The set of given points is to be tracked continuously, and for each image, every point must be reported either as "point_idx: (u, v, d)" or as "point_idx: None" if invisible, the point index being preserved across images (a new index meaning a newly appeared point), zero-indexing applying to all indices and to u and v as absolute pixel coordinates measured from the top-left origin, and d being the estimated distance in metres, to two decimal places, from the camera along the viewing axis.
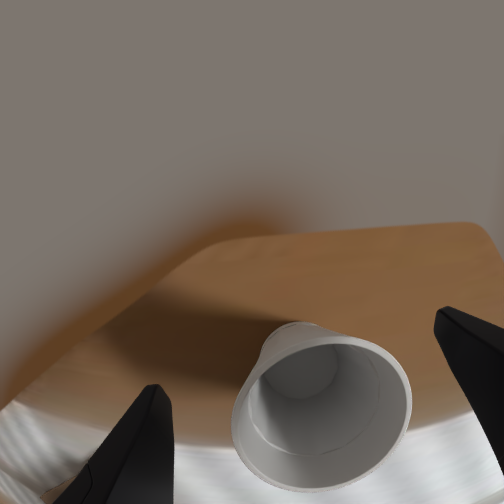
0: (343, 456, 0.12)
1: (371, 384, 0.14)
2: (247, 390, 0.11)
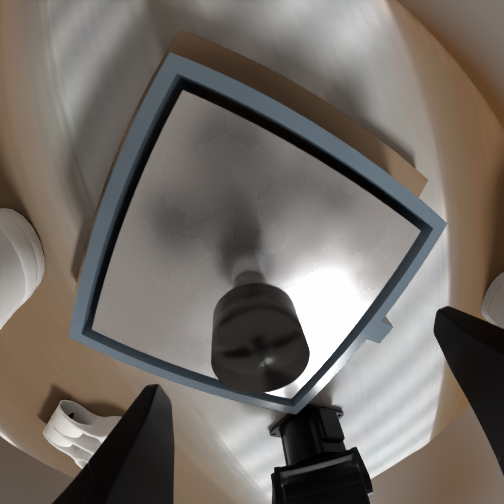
0: None
1: None
2: None
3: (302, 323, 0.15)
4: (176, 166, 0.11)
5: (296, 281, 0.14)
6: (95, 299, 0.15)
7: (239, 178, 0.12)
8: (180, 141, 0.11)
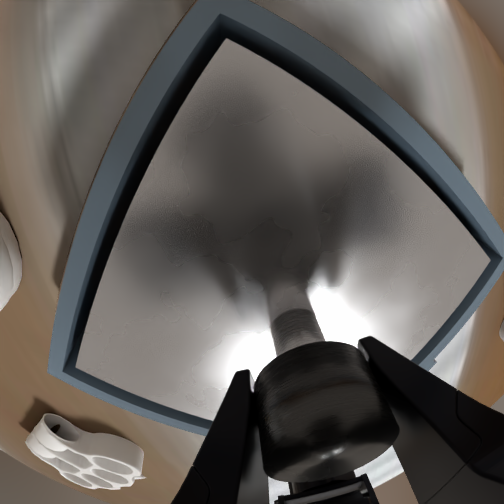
0: None
1: None
2: None
3: None
4: (207, 153, 0.07)
5: (353, 321, 0.10)
6: (79, 326, 0.11)
7: (300, 179, 0.08)
8: (215, 115, 0.07)
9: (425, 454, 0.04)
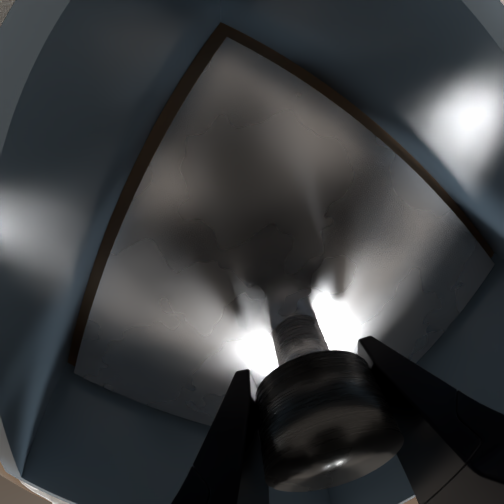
0: None
1: None
2: None
3: None
4: (207, 156, 0.07)
5: (356, 327, 0.10)
6: (32, 427, 0.06)
7: (303, 183, 0.07)
8: (216, 117, 0.07)
9: (425, 454, 0.04)
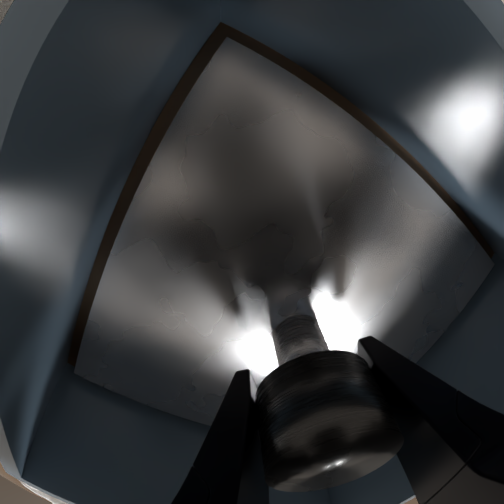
0: None
1: None
2: None
3: None
4: (207, 156, 0.07)
5: (356, 327, 0.10)
6: (32, 427, 0.06)
7: (304, 184, 0.07)
8: (216, 116, 0.07)
9: (425, 454, 0.04)
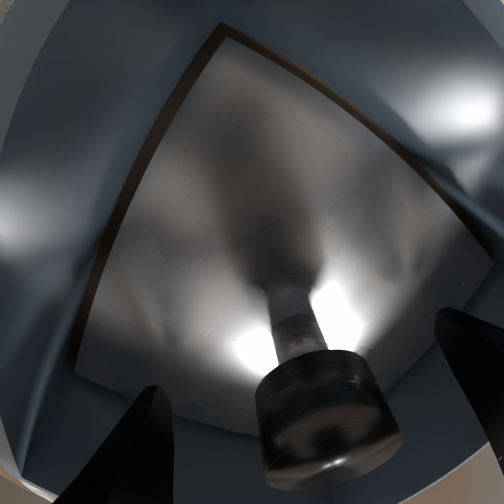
0: None
1: None
2: None
3: None
4: (207, 155, 0.07)
5: (356, 326, 0.10)
6: (32, 426, 0.06)
7: (303, 183, 0.07)
8: (216, 116, 0.07)
9: None
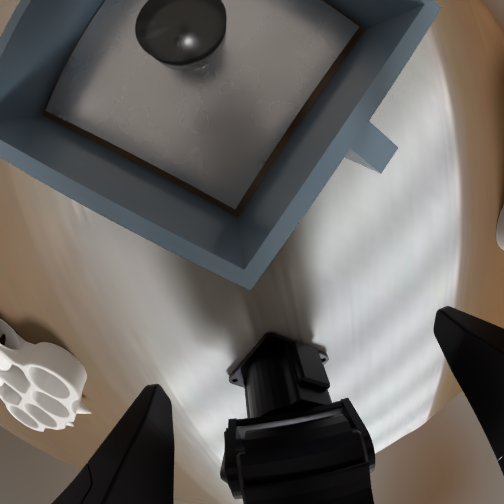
0: None
1: None
2: None
3: (243, 92, 0.13)
4: None
5: (236, 46, 0.12)
6: (7, 95, 0.09)
7: None
8: None
9: None
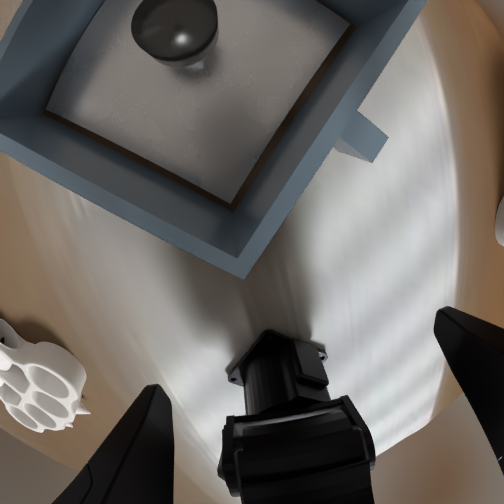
0: None
1: None
2: None
3: (237, 88, 0.14)
4: None
5: (230, 45, 0.12)
6: (9, 92, 0.09)
7: None
8: None
9: None
